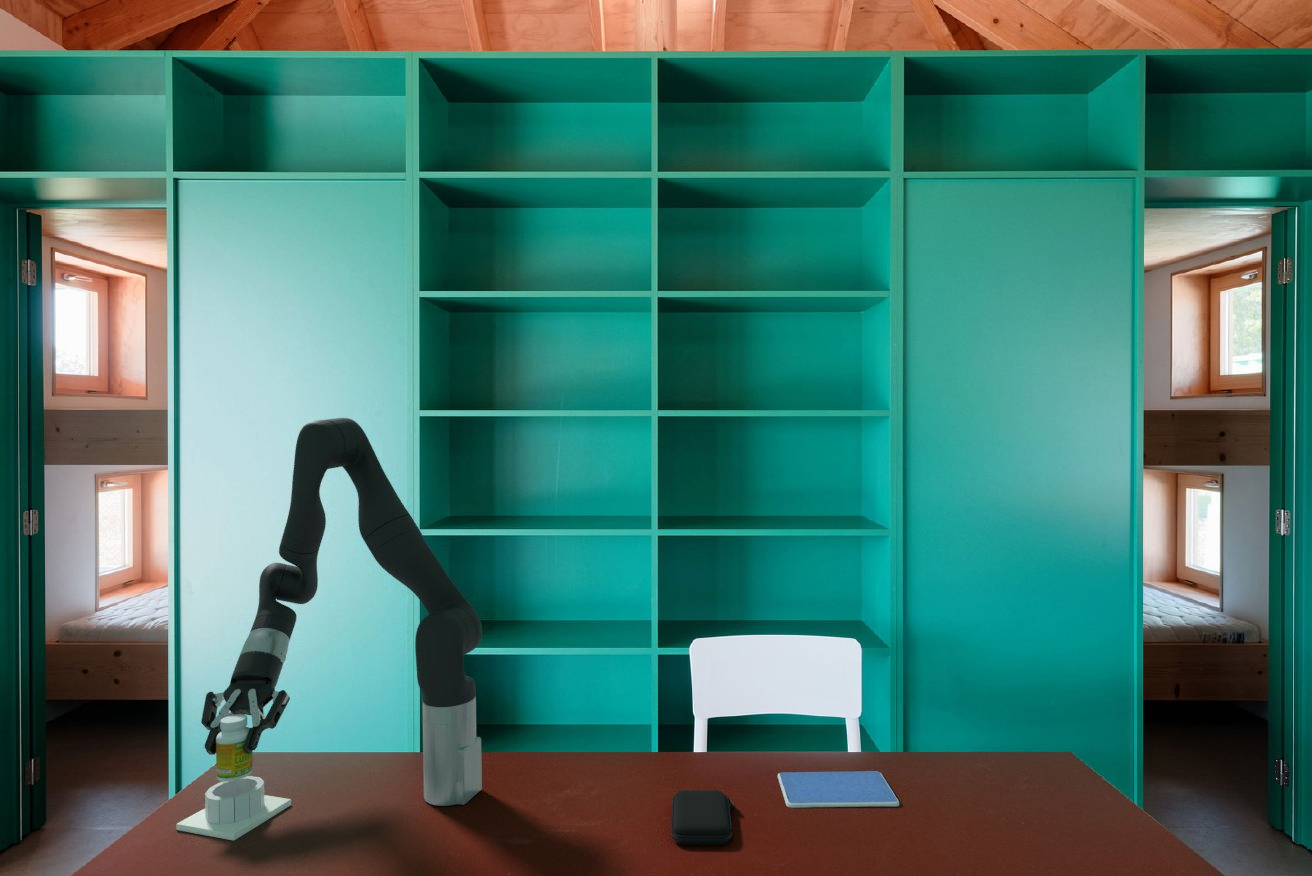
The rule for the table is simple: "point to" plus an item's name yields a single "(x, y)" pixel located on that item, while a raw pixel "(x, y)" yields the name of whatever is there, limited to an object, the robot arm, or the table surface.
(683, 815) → the carrying case or bag
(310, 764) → the table surface
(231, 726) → the supplement bottle
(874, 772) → the tablet computer
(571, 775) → the table surface
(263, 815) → the sleeve holder
